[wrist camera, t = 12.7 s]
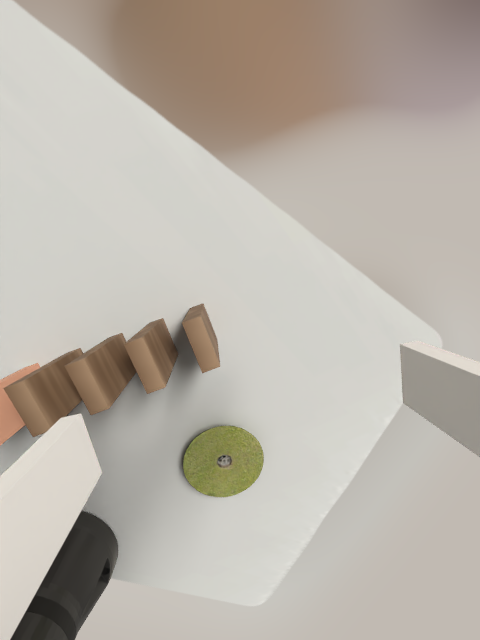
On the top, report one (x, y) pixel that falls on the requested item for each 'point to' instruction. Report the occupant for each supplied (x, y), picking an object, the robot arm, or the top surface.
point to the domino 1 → (11, 405)
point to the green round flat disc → (223, 461)
